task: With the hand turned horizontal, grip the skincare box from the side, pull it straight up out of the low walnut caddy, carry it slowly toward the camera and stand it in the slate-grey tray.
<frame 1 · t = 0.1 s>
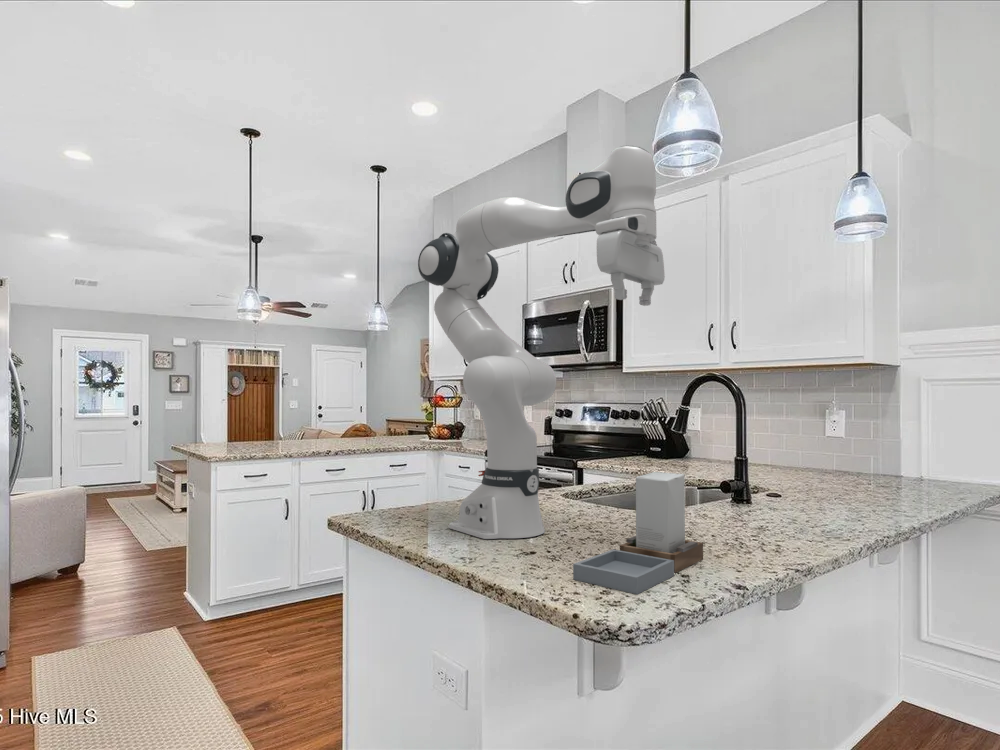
hand: (633, 302, 115), 48 cm above the counter, tool pointing down, fingers open, 8 cm apart
walnut caddy: (661, 560, 109), on the counter
slate tray: (624, 577, 99), on the counter
skincare box: (661, 562, 109), resting in walnut caddy
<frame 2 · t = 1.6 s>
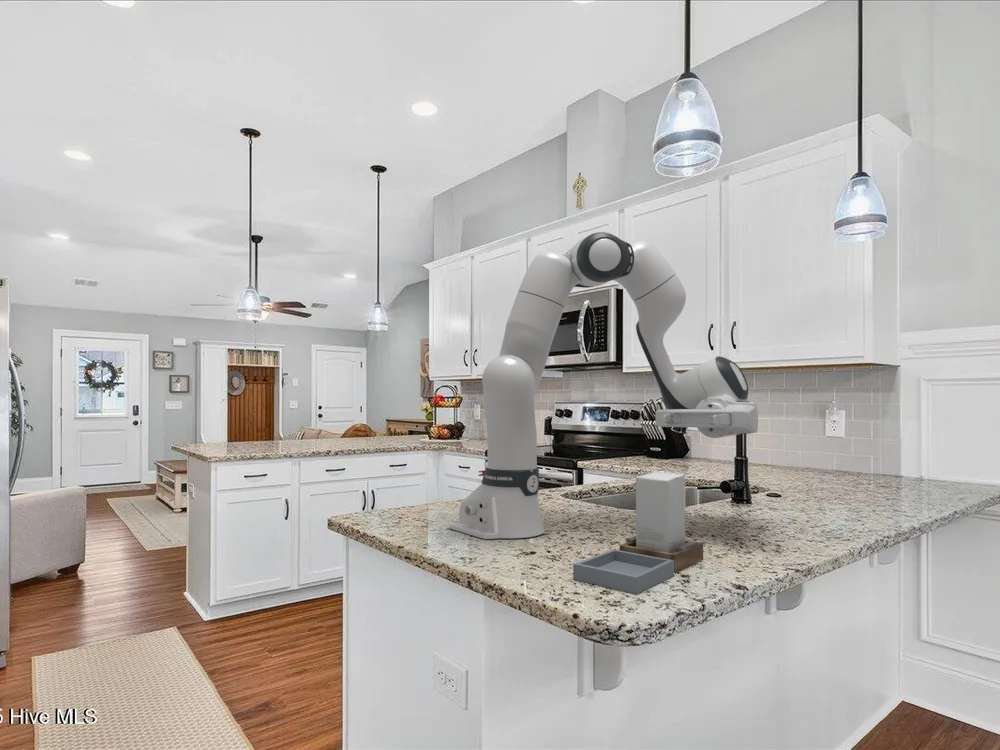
hand: (688, 419, 119), 25 cm above the counter, tool horizontal, fingers open, 8 cm apart
nothing on the counter moved.
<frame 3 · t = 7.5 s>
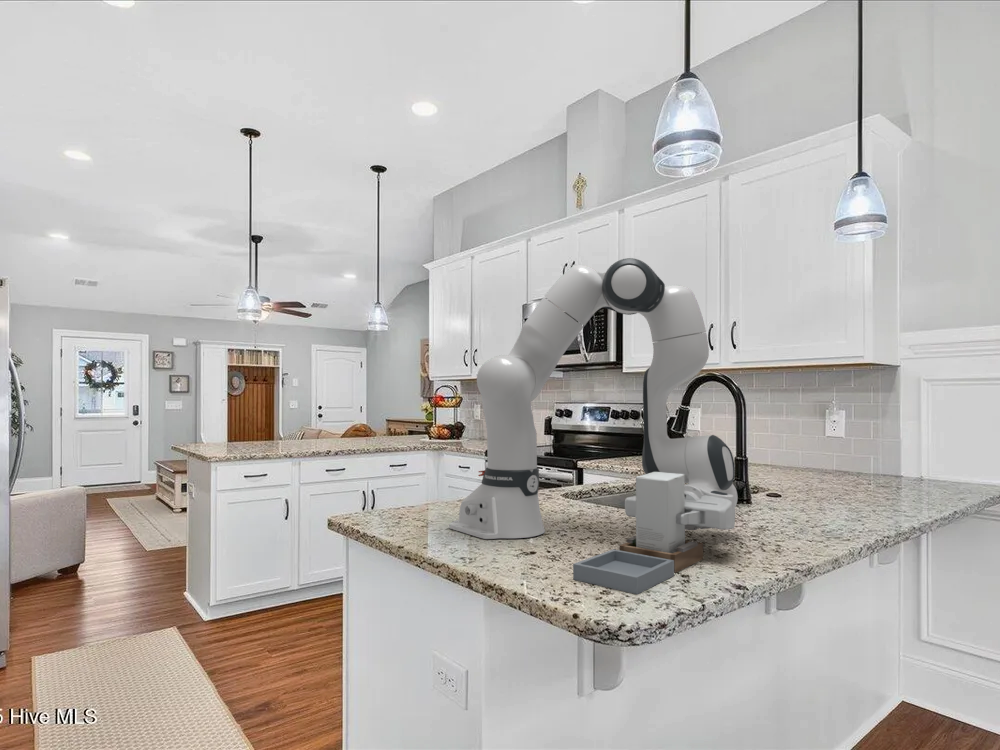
hand: (658, 516, 109), 8 cm above the counter, tool horizontal, fingers closed on skincare box, 6 cm apart
skincare box: (661, 561, 109), resting in walnut caddy, touching gripper
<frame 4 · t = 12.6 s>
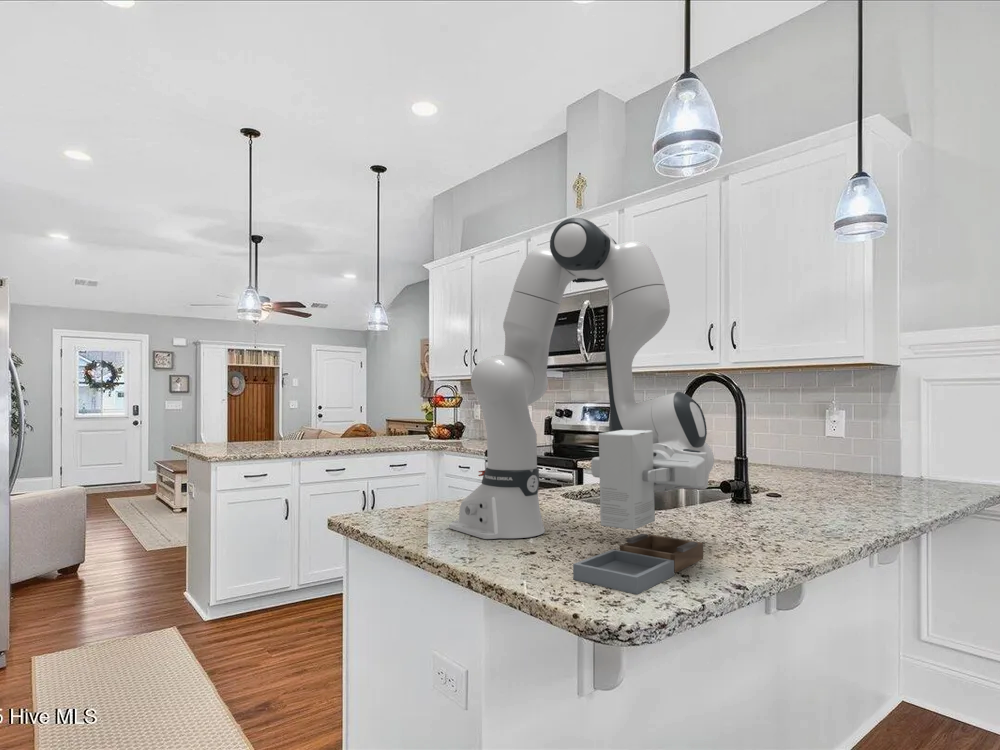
hand: (624, 474, 100), 17 cm above the counter, tool horizontal, fingers closed on skincare box, 6 cm apart
skincare box: (628, 525, 100), point 8 cm above the counter, touching gripper
when the fingers open (10 cm above the counter, at t = 16.5 s): skincare box stays where it is, resting on slate tray.
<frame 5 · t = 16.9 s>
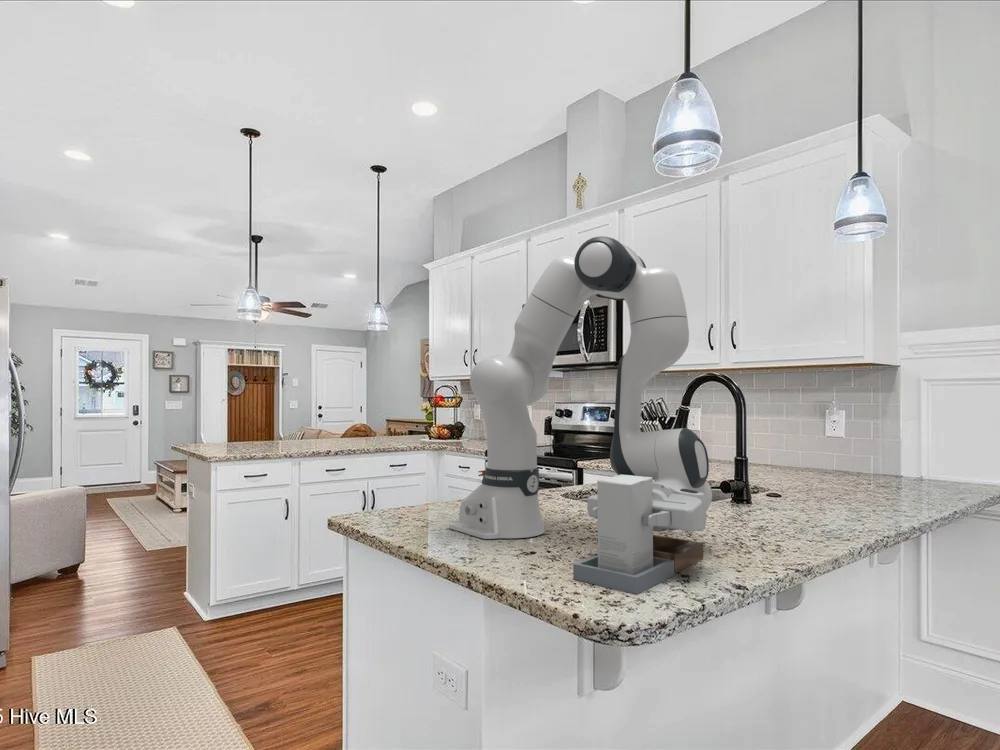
hand: (620, 517, 99), 10 cm above the counter, tool horizontal, fingers open, 8 cm apart
skincare box: (626, 574, 99), point 1 cm above the counter, touching slate tray
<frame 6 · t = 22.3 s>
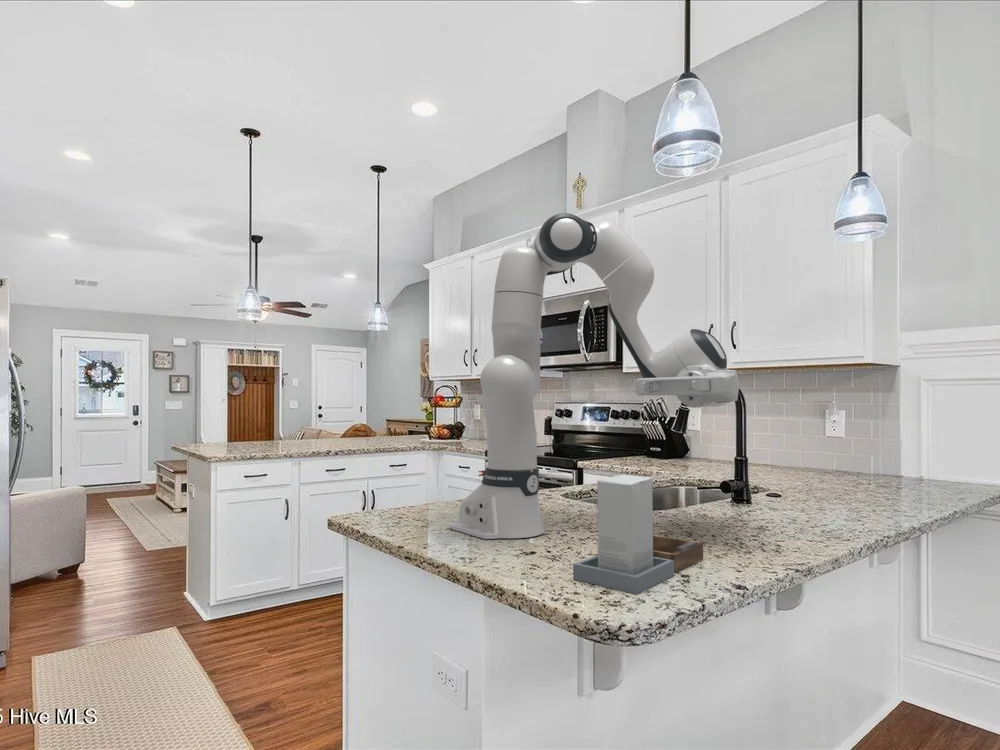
hand: (667, 385, 117), 32 cm above the counter, tool horizontal, fingers open, 8 cm apart
nothing on the counter moved.
at the end: skincare box inside the target area on the slate tray (0.4 cm from its centre), point 0.6 cm above the slate tray's base; skincare box tilted 0°; the gripper is holding nothing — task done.
